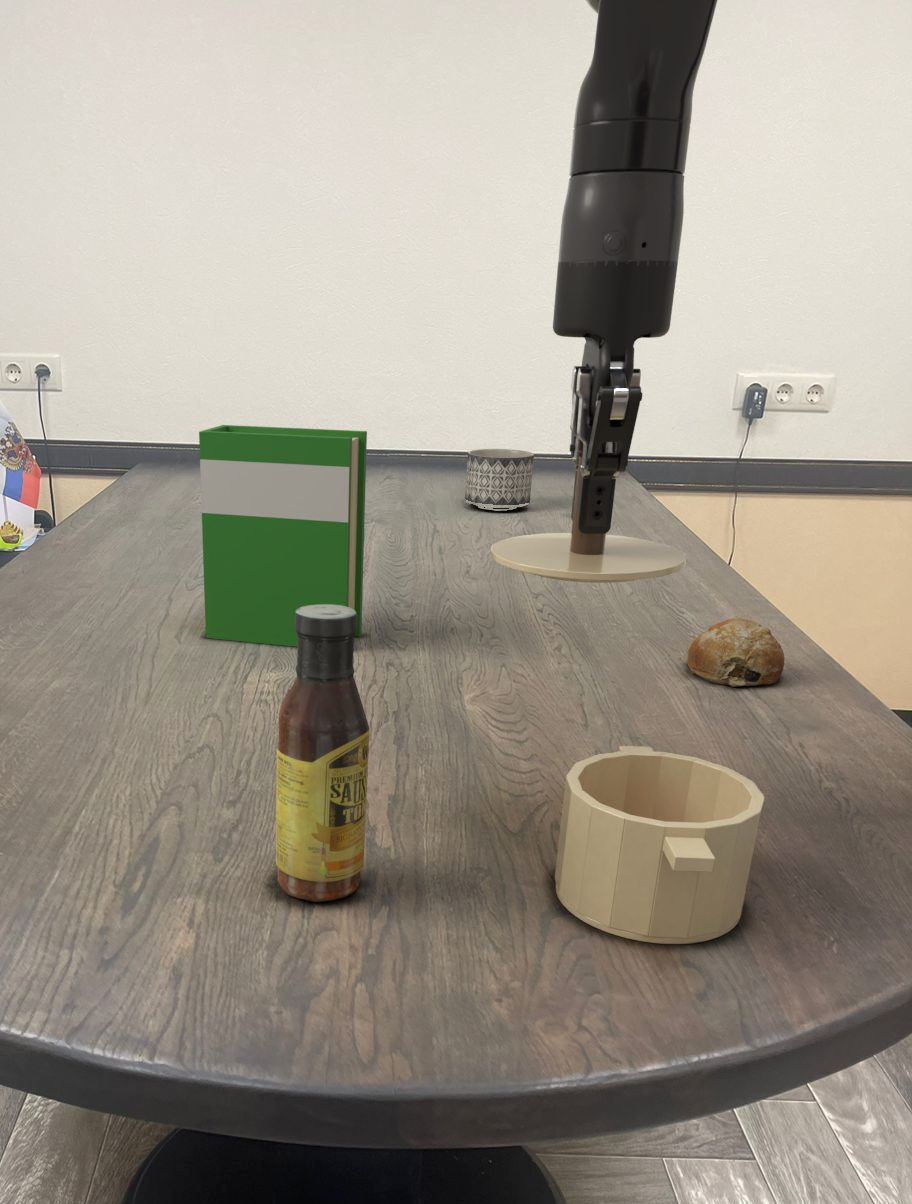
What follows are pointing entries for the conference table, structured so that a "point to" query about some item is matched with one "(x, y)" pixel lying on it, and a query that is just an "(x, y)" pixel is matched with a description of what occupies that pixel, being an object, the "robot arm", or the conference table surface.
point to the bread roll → (736, 654)
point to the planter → (499, 476)
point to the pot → (656, 845)
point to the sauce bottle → (322, 762)
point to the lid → (587, 554)
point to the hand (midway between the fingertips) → (589, 527)
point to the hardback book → (280, 527)
